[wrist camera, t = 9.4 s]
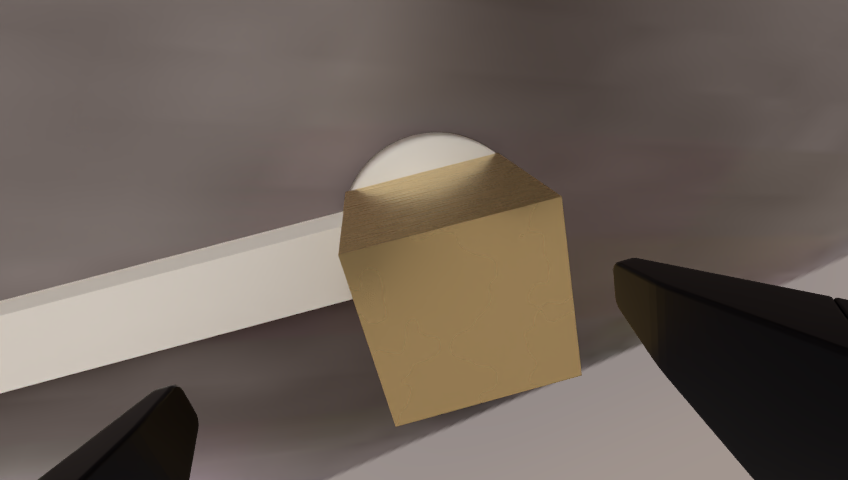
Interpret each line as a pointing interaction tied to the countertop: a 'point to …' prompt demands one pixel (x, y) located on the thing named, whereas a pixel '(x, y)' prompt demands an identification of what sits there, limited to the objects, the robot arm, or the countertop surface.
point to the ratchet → (199, 285)
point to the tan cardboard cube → (461, 285)
